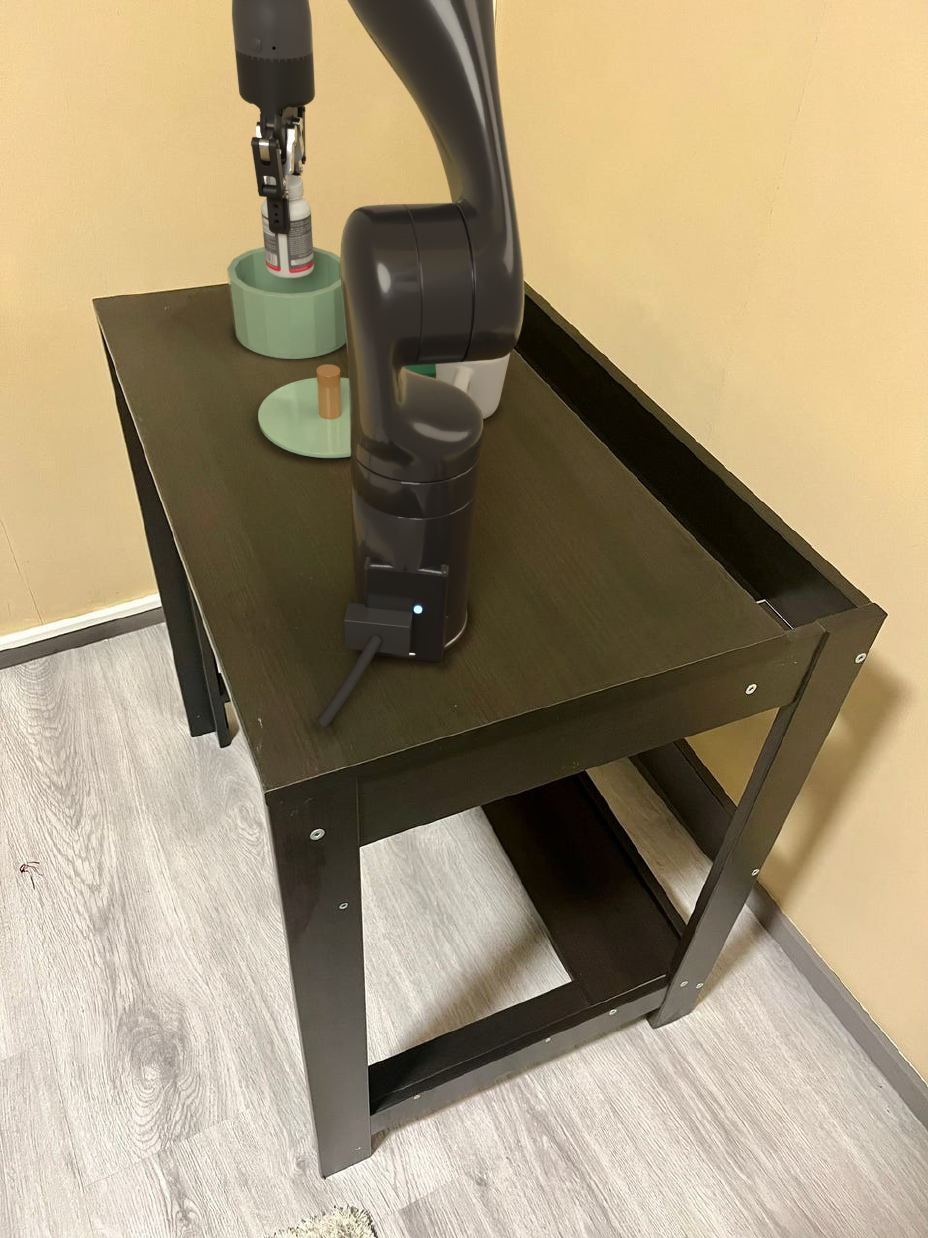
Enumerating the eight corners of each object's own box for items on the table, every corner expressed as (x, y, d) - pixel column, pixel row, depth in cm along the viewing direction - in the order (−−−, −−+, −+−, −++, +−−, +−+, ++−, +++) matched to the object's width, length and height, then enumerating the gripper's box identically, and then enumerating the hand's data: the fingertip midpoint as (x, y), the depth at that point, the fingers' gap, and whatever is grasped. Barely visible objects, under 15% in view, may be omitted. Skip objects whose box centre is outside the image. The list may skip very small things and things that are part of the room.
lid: (390, 470, 90) (391, 417, 86) (242, 454, 90) (236, 401, 86) (409, 393, 101) (410, 342, 96) (277, 379, 101) (272, 328, 96)
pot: (340, 364, 104) (338, 302, 99) (221, 352, 104) (213, 289, 99) (359, 310, 114) (358, 250, 108) (251, 299, 114) (245, 239, 109)
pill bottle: (316, 261, 106) (311, 172, 99) (311, 281, 102) (307, 190, 95) (269, 258, 105) (261, 169, 98) (263, 278, 101) (255, 187, 95)
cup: (492, 449, 94) (499, 380, 88) (417, 436, 95) (420, 367, 89) (509, 396, 101) (517, 330, 96) (440, 385, 102) (443, 318, 97)
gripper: (296, 67, 83) (306, 251, 95) (326, 31, 93) (332, 201, 105) (215, 59, 83) (235, 244, 95) (253, 24, 93) (268, 194, 105)
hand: (286, 220), depth 100 cm, fingers closed on pill bottle, 5 cm apart
